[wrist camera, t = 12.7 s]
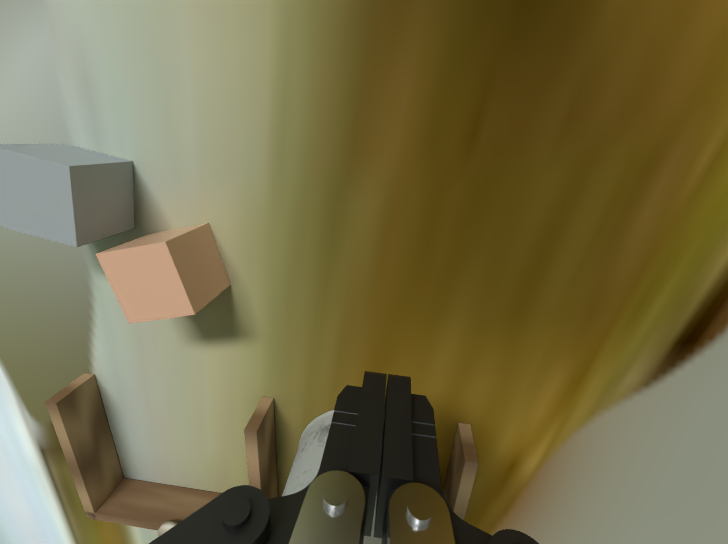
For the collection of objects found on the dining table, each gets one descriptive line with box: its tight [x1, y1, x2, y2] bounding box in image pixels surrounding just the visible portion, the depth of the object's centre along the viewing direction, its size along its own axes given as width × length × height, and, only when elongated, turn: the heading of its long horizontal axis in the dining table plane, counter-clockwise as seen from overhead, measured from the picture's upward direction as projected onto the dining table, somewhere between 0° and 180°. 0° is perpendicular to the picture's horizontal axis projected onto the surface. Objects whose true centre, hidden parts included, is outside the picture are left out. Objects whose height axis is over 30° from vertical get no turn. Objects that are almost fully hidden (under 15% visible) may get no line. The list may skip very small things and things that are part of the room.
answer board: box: [45, 373, 479, 536], centre depth 25 cm, size 12×28×3 cm, turn 86°
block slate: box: [0, 144, 135, 247], centre depth 18 cm, size 4×4×4 cm
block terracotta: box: [96, 223, 230, 323], centre depth 19 cm, size 4×4×4 cm
